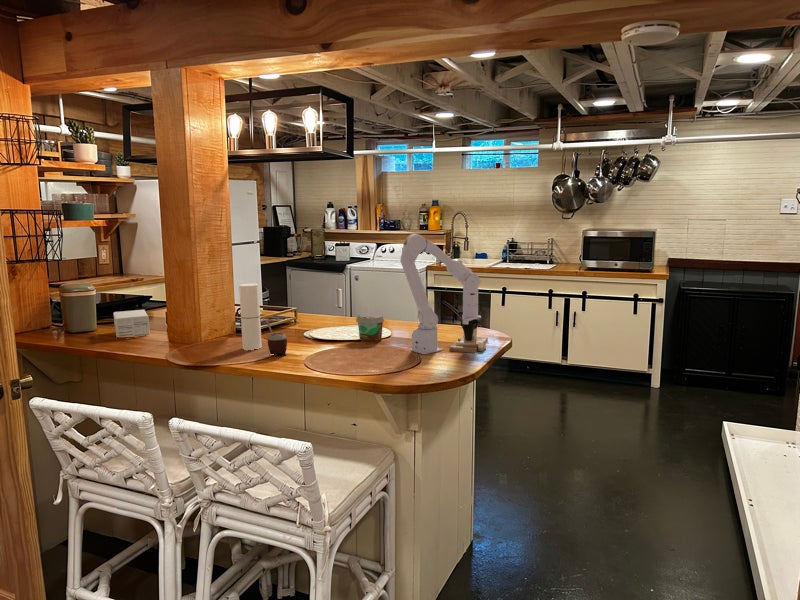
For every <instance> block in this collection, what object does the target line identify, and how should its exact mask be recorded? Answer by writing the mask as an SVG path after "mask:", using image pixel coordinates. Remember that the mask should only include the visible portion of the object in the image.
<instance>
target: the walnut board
mask: <svg viewBox="0 0 800 600" xmlns="http://www.w3.org/2000/svg"><path fill="white" fill-rule="evenodd" d="M459 339H461V340H464V335H463V336H461V337H460V338H459ZM481 339H486V343H488V341H489V337H485V336H477V341H480V340H481ZM449 351H450V352H461V353H470V352H471V353H473V354H475V353H477V352H478V347H475V346H462V345H456V341H455V342H454V343H453V344H451V345H450V346H449Z"/></svg>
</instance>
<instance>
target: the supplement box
mask: <svg viewBox="0 0 800 600" xmlns="http://www.w3.org/2000/svg"><path fill="white" fill-rule="evenodd" d="M149 317H150V316H149V314H148V313H147V312H146V309H135V310H124V311H114V312H113V323H114V330H115V331H114V332H115V335H116V338H117V337H132V336H144V335H150V336H151V330H150V320H149Z"/></svg>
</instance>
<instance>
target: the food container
mask: <svg viewBox="0 0 800 600" xmlns="http://www.w3.org/2000/svg"><path fill="white" fill-rule="evenodd" d="M355 321H356V323H357V326H358V335H359V336H358V337H359V340H360V339H361V341H360V342H362V343H378V342H382V339H383V327H384V326H383V325H384V322H385V318H384V316H381V317H374V316H360V314H358V315H357V316H356V320H355Z"/></svg>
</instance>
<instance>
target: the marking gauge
mask: <svg viewBox="0 0 800 600" xmlns="http://www.w3.org/2000/svg"><path fill="white" fill-rule="evenodd" d="M477 334H478V327H477V328H474V330H473V336H472V341H466V339H465V335H464V334H463V336H464V340H461V339H460V338H458V339H457V340H456V341H455V342H456V345H462V346H475V347H478V351H479V352H482V351H484V350H485V349H486V348H487V342H486V339H481V340H480V341H477V337H478V335H477ZM478 351H477V352H478Z"/></svg>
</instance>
